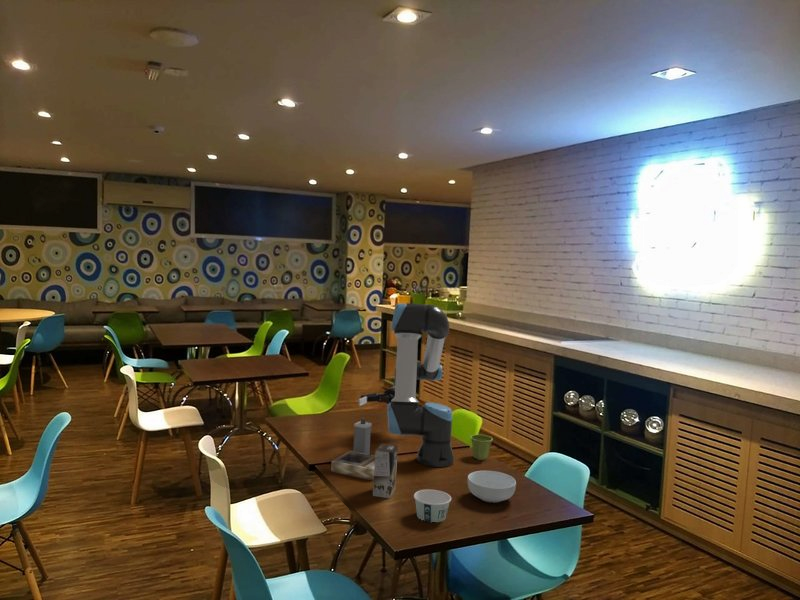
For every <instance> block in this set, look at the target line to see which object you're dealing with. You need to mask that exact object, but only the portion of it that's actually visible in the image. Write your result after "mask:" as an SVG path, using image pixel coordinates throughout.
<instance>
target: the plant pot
mask: <svg viewBox="0 0 800 600" xmlns="http://www.w3.org/2000/svg"><path fill="white" fill-rule="evenodd" d="M469 438H470V441H471V443H472V444H471V446H472V457H473V458H474V459H477V460H480V461H481V460H482V461H484V460H487V459H488V457H489V452H490V448H491V444H492V441H493V439H494V438H493V437H492V436H490V435H486V434H473V435H470V437H469Z"/></svg>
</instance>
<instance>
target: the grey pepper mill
mask: <svg viewBox="0 0 800 600" xmlns="http://www.w3.org/2000/svg"><path fill="white" fill-rule="evenodd" d="M366 419H367V418H366V417H361V418H360V421H357V422H356V423H354V424H353V427H354V428H353V429H354V432H353V449H352V451H354V452H359V453H364V454H369V455H370V449H371V436H372V435H371V433H372V431H371V430H372V425H373V423H372V422H368V421H366Z"/></svg>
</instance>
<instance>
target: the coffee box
mask: <svg viewBox="0 0 800 600" xmlns="http://www.w3.org/2000/svg"><path fill="white" fill-rule="evenodd" d="M398 449H399V445H398V444H390V443H380V444H379V445H378V447H377V448H376V449H375V453H374V456H375V468H374V481H373V483H372V484H373V487H372V497H377V498H385V499H391V497H392V496H393V493H395V490H396V485H397V483H396V482H397V467H398V465H397V464H398V452H399V451H398Z"/></svg>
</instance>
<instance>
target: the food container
mask: <svg viewBox="0 0 800 600" xmlns="http://www.w3.org/2000/svg"><path fill="white" fill-rule="evenodd" d="M413 498H414V500H415V511H416V517H417V519H419V520H420V519H421V521H423V520H424V521H423V522H426V521H428V522H427V523H432V522H436V523H441V522H444V521H445V520H446V517H447V514H448V510H449V505H450V502H451V501H452V496H451V495H450V494H449V493H447V492H445V491H442V490H437V489H420V490H418V491H415V493H414V494H413Z"/></svg>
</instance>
